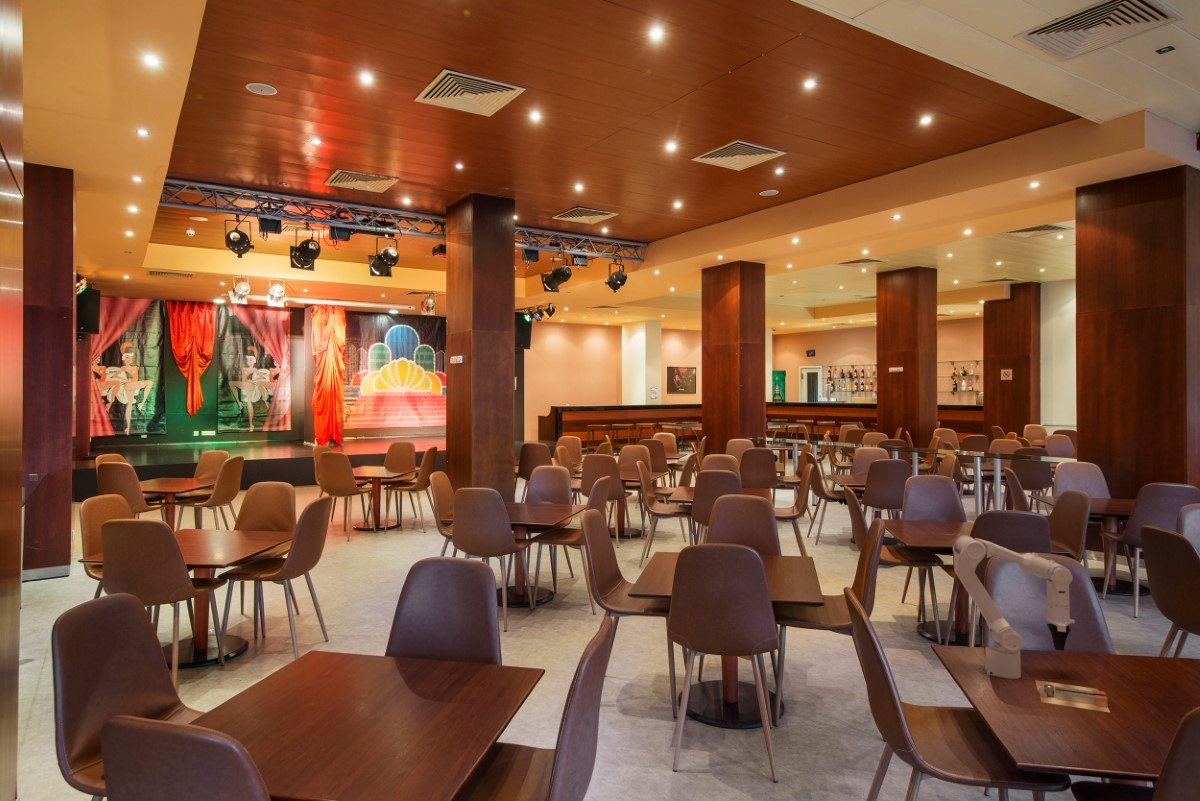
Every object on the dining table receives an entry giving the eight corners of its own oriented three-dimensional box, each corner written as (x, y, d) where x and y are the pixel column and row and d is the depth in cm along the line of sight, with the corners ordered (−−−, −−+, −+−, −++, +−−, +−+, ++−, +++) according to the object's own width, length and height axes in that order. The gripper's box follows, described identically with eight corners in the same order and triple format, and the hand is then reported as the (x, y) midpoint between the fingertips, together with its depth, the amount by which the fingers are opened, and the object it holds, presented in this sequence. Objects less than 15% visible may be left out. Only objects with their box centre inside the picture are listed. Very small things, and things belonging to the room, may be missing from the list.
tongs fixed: (1040, 697, 194) (1039, 687, 194) (1038, 691, 198) (1038, 681, 198) (1107, 707, 187) (1107, 696, 187) (1104, 701, 191) (1104, 691, 191)
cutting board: (1041, 706, 191) (1041, 701, 191) (1035, 684, 207) (1035, 680, 207) (1110, 716, 184) (1110, 712, 184) (1098, 693, 200) (1097, 688, 200)
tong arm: (1055, 695, 195) (1055, 687, 195) (1054, 692, 197) (1054, 684, 197) (1105, 702, 190) (1105, 694, 190) (1104, 699, 192) (1103, 691, 192)
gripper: (1077, 611, 202) (1079, 659, 201) (1070, 600, 215) (1071, 644, 214) (1048, 608, 205) (1050, 655, 205) (1043, 597, 218) (1044, 641, 217)
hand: (1059, 649), depth 210 cm, fingers closed
